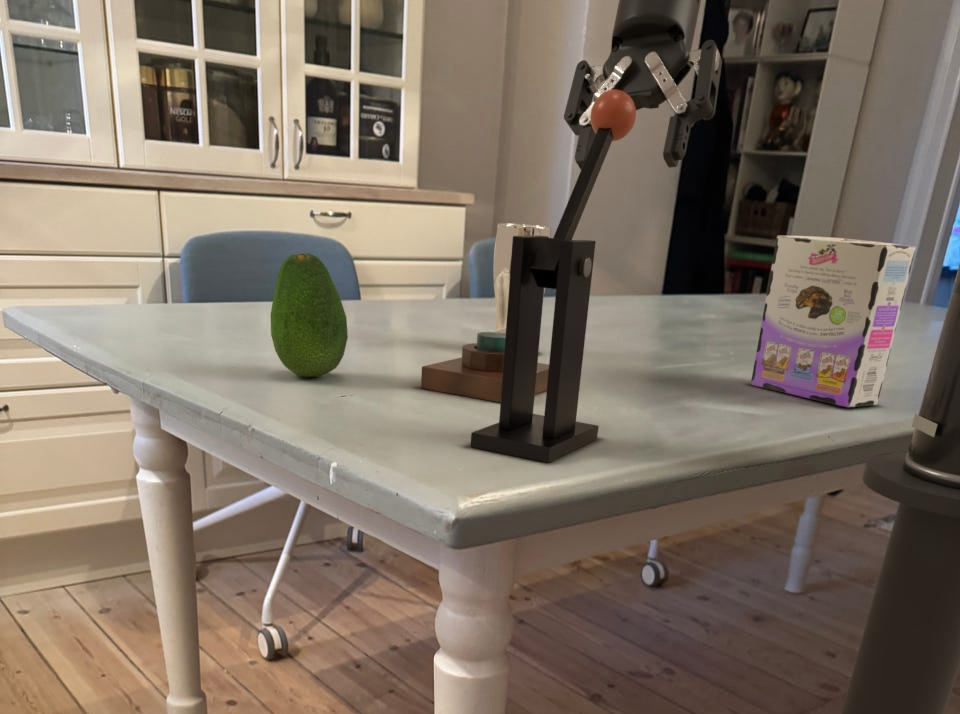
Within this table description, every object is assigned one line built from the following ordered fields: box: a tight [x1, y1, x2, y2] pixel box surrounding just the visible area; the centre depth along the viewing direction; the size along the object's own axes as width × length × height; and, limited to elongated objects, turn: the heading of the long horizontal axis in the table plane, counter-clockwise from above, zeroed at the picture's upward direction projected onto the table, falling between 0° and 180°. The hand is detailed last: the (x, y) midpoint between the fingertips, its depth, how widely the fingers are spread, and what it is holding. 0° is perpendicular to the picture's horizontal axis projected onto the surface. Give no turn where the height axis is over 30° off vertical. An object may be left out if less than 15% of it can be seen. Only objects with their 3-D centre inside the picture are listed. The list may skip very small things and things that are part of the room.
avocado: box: [270, 252, 349, 379], centre depth 94 cm, size 8×8×12 cm
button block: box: [420, 342, 549, 404], centre depth 97 cm, size 10×12×4 cm
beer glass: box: [492, 222, 552, 334], centre depth 117 cm, size 7×7×15 cm
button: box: [476, 331, 506, 352], centre depth 96 cm, size 4×4×2 cm
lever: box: [530, 89, 637, 290], centre depth 73 cm, size 17×4×4 cm
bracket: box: [470, 235, 600, 464], centre depth 74 cm, size 10×7×16 cm
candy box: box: [750, 235, 917, 408], centre depth 102 cm, size 14×6×16 cm, turn 35°
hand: (626, 166), depth 87 cm, fingers open, 8 cm apart
